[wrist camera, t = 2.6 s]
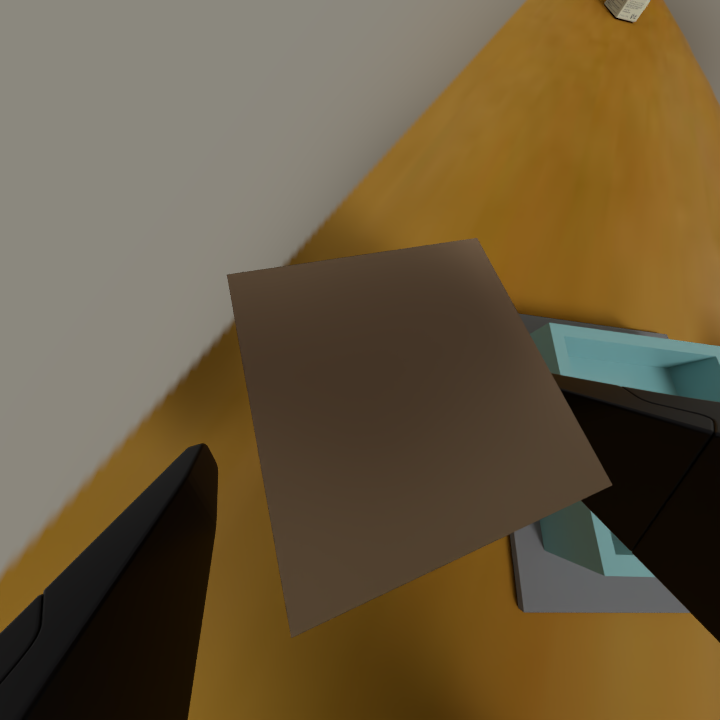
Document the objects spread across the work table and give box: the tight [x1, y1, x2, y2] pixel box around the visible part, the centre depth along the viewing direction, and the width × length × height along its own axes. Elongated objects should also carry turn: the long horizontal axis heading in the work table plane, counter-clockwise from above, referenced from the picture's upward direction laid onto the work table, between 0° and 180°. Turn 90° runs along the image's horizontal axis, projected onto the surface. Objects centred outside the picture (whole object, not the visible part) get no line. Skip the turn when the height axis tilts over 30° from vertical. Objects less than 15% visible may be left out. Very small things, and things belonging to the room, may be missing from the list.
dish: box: [530, 323, 720, 577], centre depth 16 cm, size 13×13×3 cm
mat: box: [510, 314, 690, 613], centre depth 18 cm, size 18×16×1 cm
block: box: [227, 238, 612, 638], centre depth 10 cm, size 4×4×12 cm
